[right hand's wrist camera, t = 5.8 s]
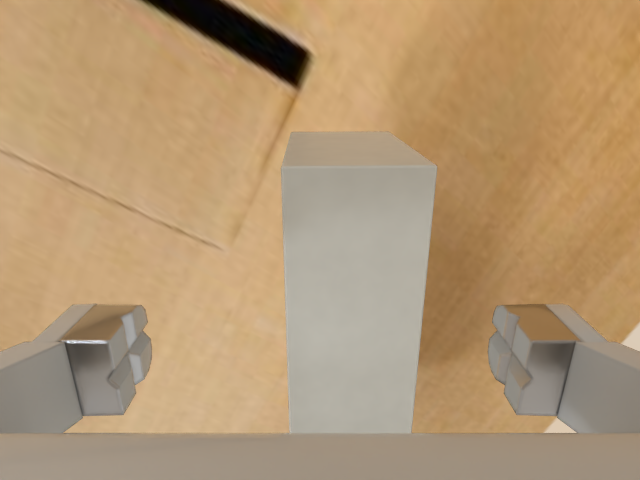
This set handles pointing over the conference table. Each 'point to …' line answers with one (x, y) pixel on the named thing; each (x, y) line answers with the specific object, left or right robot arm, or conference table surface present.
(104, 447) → the right robot arm
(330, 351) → the bar
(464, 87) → the conference table surface
